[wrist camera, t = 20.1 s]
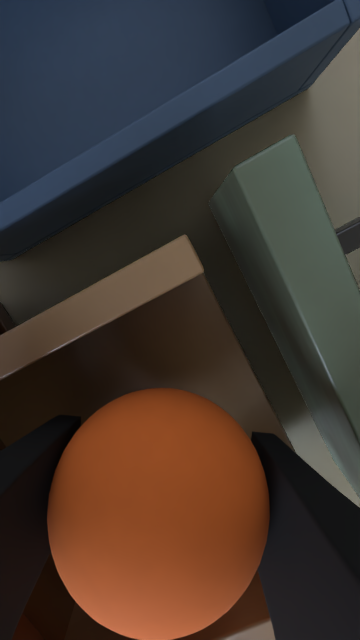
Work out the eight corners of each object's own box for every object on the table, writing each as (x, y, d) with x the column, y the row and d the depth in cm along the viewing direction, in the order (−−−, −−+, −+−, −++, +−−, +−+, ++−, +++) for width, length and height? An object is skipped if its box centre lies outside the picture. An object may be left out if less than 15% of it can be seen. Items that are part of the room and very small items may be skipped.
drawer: (379, 106, 11) (593, -38, 5) (481, 394, 13) (706, 511, 7) (-60, 351, 13) (-249, 438, 7) (96, 564, 15) (45, 756, 9)
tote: (9, 261, 13) (-66, 270, 9) (-145, 20, 11) (-324, -100, 7) (310, 87, 11) (377, 8, 7) (189, -221, 10) (194, -536, 6)
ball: (51, 420, 10) (-66, 590, 6) (178, 323, 9) (172, 424, 5) (155, 524, 11) (133, 743, 7) (279, 445, 10) (360, 631, 6)
